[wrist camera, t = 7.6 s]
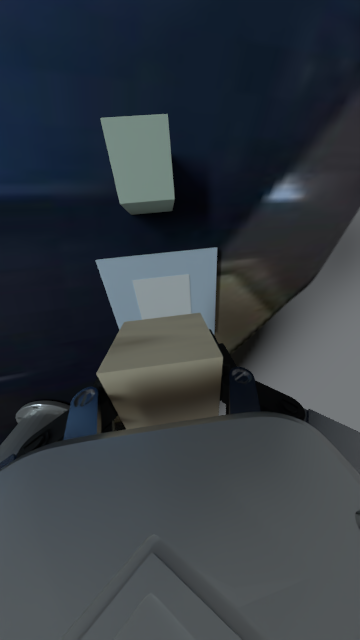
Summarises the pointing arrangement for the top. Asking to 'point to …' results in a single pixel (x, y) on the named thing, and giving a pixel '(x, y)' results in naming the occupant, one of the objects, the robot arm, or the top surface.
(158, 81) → the top surface
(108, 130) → the sage block
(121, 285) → the board
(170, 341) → the birch block
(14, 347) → the top surface
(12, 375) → the top surface
